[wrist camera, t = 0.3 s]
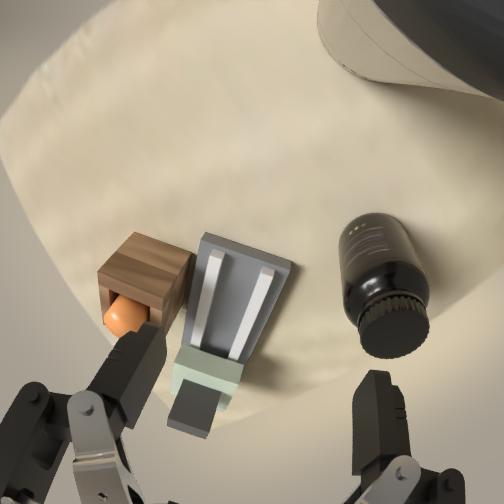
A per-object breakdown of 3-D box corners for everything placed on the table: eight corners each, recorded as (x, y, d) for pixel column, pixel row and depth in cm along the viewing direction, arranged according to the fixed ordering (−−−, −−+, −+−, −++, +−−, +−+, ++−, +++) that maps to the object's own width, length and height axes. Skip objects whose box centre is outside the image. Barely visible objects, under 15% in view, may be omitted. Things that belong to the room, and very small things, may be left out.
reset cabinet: (134, 231, 32) (97, 271, 25) (191, 252, 32) (163, 298, 25) (132, 286, 36) (104, 327, 30) (182, 306, 36) (159, 351, 30)
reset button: (121, 280, 28) (101, 306, 25) (154, 294, 28) (137, 322, 25) (122, 305, 30) (105, 331, 27) (153, 318, 30) (137, 346, 27)
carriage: (182, 343, 35) (155, 403, 28) (243, 365, 35) (226, 428, 28) (176, 377, 40) (155, 428, 33) (228, 395, 40) (213, 448, 33)
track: (205, 232, 30) (196, 246, 28) (291, 261, 30) (289, 277, 28) (180, 361, 43) (174, 374, 41) (236, 380, 43) (232, 394, 41)
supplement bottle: (417, 248, 26) (455, 341, 16) (362, 282, 30) (373, 380, 20) (383, 195, 24) (422, 279, 14) (323, 236, 28) (323, 332, 18)
